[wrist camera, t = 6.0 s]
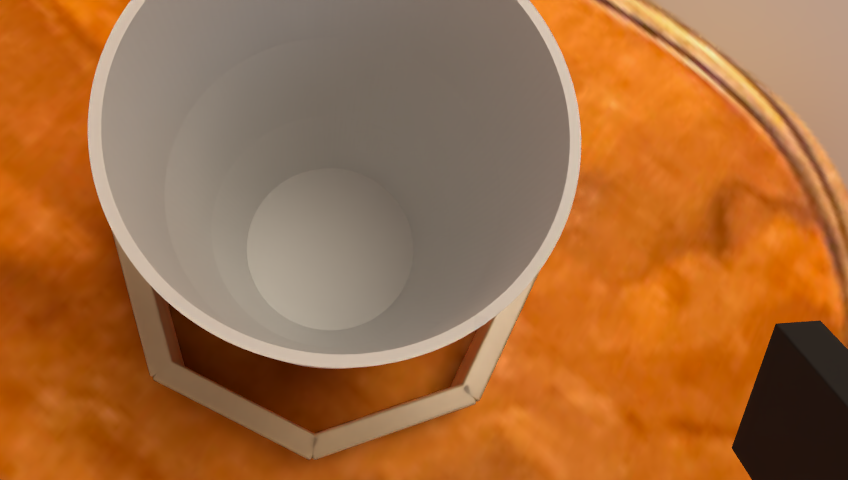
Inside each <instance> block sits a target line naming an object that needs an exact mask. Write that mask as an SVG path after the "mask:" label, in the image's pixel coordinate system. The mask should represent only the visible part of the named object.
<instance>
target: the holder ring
mask: <svg viewBox="0 0 848 480" xmlns="http://www.w3.org/2000/svg"><path fill="white" fill-rule="evenodd" d="M112 233H113V231H112ZM113 237H114V240H115V244H116V248H117V252H118V256H119V260H120V263H121V267H122V271H123V275H124V279H125V282H126V286H127V290H128V294H129V298H130V302H131V305H132V309H133V313H134V317H135V321H136V324H137V328H138V332H139V336H140V340H141V343H142V347H143V351H144V355H145V359H146V363H147V366H148V370H149V374H150V376H152V377H153V380H154V381H156V382H158V383H160V384H162V385H164V386H166V387H168V388H170V389H172V390H174V391H176V392H178V393H180V394H182V395H184V396H186V397H188V398H189V399H191V400H193V401H195V402H197V403H199V404H201V405H203V406H205V407H207V408H209V409H211V410H213V411H215V412H217V413H219V414H221V415H223V416H224V417H226V418H228V419H230V420H232V421H234V422H236V423H238V424H240V425H242V426H244V427H246V428H248V429H250V430H252V431H254V432H256V433H258V434H259V435H261V436H263V437H265V438H267V439H269V440H271V441H273V442H275V443H277V444H279V445H281V446H283V447H285V448H287V449H289V450H291V451H293V452H294V453H296V454H298V455H300V456H302V457H304V458H306V459H308V460H310V459H311V458H313V459H314V460H316V459H319V458H322V457H325V456H328V455H331V454H334V453H337V452H339V451H342V450H345V449H348V448H351V447H354V446H357V445H360V444H362V443H365V442H368V441H371V440H374V439H377V438H380V437H383V436H385V435H388V434H391V433H394V432H397V431H400V430H403V429H406V428H408V427H411V426H414V425H417V424H420V423H423V422H426V421H429V420H431V419H434V418H437V417H440V416H443V415H446V414H449V413H452V412H455V411H457V410H460V409H463V408H466V407H469V406H472V405H474V404H475V403H476V401H479V400H480V399H481V396H482V394H483V392H484V390H485V388H486V386H487V383H488V381H489V379H490V377H491V375H492V373H493V370H494V368H495V366H496V364H497V362H498V360H499V358H500V355H501V353H502V351H503V349H504V347H505V345H506V342H507V340H508V338H509V336H510V334H511V332H512V329H513V327H514V325H515V323H516V321H517V319H518V317H519V314H520V312H521V310H522V308H523V306H524V304H525V301H526V299H527V297H528V295H529V293H530V291H531V288H532V286H533V284H534V282H535V280H536V278H537V276H538V273H539V272H538V273H537V275H536V276H535V277H534V278H533V280H532V281H531V282H530V283H529V285H528V286H527V287H526V288H525V289H524V290H523V291H522V292H521V293H520V294H519V295H518V296H517V297H516V298H515V300H514V301H512V302H511V303H510V304H509V305H508V306H507V307H506V308H505V309H504V310H502V311H501V312H500V313H499V314H497V315H496V316H495V317H494V318H492V319H491V320H490V321H488V322H487V323H485V324H484V325H482V326H481V327H479V328H478V329H477V331H476V333H475V335H474V338H473V340H472V342H471V344H470V346H469V348H468V350H467V352H466V354H465V356H464V359H463V361H462V363H461V365H460V367H459V369H458V371H457V373H456V375H455V377H454V379H453V382H452V384H451V386H450V387H449V388H446V389H443V390H440V391H437V392H434V393H431V394H428V395H425V396H422V397H419V398H416V399H413V400H411V401H408V402H405V403H402V404H399V405H396V406H393V407H390V408H387V409H384V410H381V411H378V412H375V413H372V414H369V415H366V416H364V417H361V418H358V419H355V420H352V421H349V422H346V423H343V424H340V425H337V426H334V427H331V428H328V429H325V430H322V431H319V432H317V433H313V432H311V431H309V430H307V429H305V428H303V427H301V426H299V425H297V424H295V423H294V422H292V421H290V420H288V419H286V418H284V417H282V416H280V415H278V414H276V413H274V412H272V411H270V410H268V409H266V408H264V407H262V406H260V405H259V404H257V403H255V402H253V401H251V400H249V399H247V398H245V397H243V396H241V395H239V394H237V393H235V392H233V391H231V390H229V389H227V388H226V387H224V386H222V385H220V384H218V383H216V382H214V381H212V380H210V379H208V378H206V377H204V376H202V375H200V374H198V373H196V372H194V371H192V370H191V369H189V368H187V367H185V365H184V361H183V358H182V354H181V350H180V347H179V343H178V339H177V336H176V332H175V328H174V325H173V321H172V317H171V313H170V310H169V306H168V302H167V301H166V300H165V299H164V298H163V297H162V296H161V295H160V294H158V293H157V292H156V291H155V290H154V288H153V287H152V286H151V285H150V284H149V283H148V282H147V281H146V280H145V279H144V277H143V276H142V275H141V274H140V273H139V271H138V270H137V269H136V267H135V266H134V265H133V263H132V262H131V261H130V259H129V258H128V256H127V255H126V253H125V252H124V250H123V249H122V247H121V245H120V244H119V242H118V240H117V239H116V237H115V235H114V233H113Z"/></svg>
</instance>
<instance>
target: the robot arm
mask: <svg viewBox="0 0 848 480" xmlns="http://www.w3.org/2000/svg"><path fill="white" fill-rule="evenodd" d="M732 449H733V451H734V452H735V454H736V455H737V457H738V459H739V460H740V462H741V463H742V465H743V466H744V468H745V469H746V471H747V472H748V474H749V476H750V477H751V479H752V480H848V349H847V348H846V347H845V346H844V345H843V344H842V343H841V342H840V341H839V340H838V339H837V338H836V337H835V336H834V335H833V334H832V333H831V331H830V330H829V329H828V328H827V327H826V326H825V325H824V324H823V323H822V322H821V321H809V322H794V323H780V324H776V325H775V328H774V330H773V333H772V336H771V339H770V342H769V344H768V347H767V350H766V353H765V356H764V359H763V361H762V364H761V367H760V370H759V373H758V375H757V378H756V381H755V384H754V387H753V389H752V392H751V395H750V398H749V401H748V404H747V406H746V409H745V412H744V415H743V418H742V420H741V423H740V426H739V429H738V432H737V435H736V437H735V440H734V443H733V446H732Z"/></svg>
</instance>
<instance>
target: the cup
mask: <svg viewBox="0 0 848 480" xmlns="http://www.w3.org/2000/svg"><path fill="white" fill-rule="evenodd" d="M88 147H89V156H90V163H91V169H92V174H93V179H94V183H95V187H96V190H97V194H98V197H99V200H100V203H101V206H102V208H103V211H104V213H105V216H106V218H107V221H108V223H109V225H110V227H111V229H112V231H113V233H114V235H115V237H116V239H117V240H118V242H119V244H120V245H121V247H122V249H123V250H124V252H125V253H126V255H127V256H128V258H129V259H130V261H131V262H132V263H133V265H134V266H135V267H136V269H137V270H138V271H139V273H140V274H141V275H142V276H143V277H144V279H145V280H146V281H147V282H148V283H149V284H150V285H151V286H152V287H153V288H154V290H155V291H156V292H157V293H158V294H160V295H161V296H162V297H163V298H164V299H165V300H166V301H167V302H168V303H169V304H170V305H172V306H173V307H174V308H175V309H176V310H178V311H179V312H180V313H181V314H183V315H184V316H185V317H187V318H188V319H190V320H191V321H192V322H194V323H195V324H197V325H198V326H200V327H202V328H203V329H205V330H206V331H208V332H210V333H212V334H213V335H215V336H217V337H219V338H221V339H223V340H225V341H227V342H229V343H231V344H233V345H236V346H238V347H240V348H243V349H245V350H248V351H251V352H253V353H256V354H259V355H262V356H265V357H269V358H272V359H276V360H280V361H283V362H287V363H291V364H295V365H300V366H306V367H314V368H326V369H343V368H356V367H368V366H376V365H383V364H389V363H394V362H399V361H403V360H407V359H411V358H414V357H417V356H421V355H424V354H427V353H429V352H432V351H435V350H437V349H440V348H442V347H444V346H447V345H449V344H451V343H453V342H455V341H457V340H459V339H461V338H463V337H465V336H466V335H468V334H470V333H471V332H473V331H475V330H476V329H478V328H479V327H481V326H482V325H484V324H485V323H487V322H488V321H490V320H491V319H492V318H494V317H495V316H496V315H497V314H499V313H500V312H501V311H502V310H504V309H505V308H506V307H507V306H508V305H509V304H510V303H511V302H512V301H514V300H515V298H516V297H517V296H518V295H519V294H520V293H521V292H522V291H523V290H524V289H525V288H526V287H527V286H528V285H529V283H530V282H531V281H532V280H533V278H534V277H535V276H536V275H537V273H538V272H539V271H540V269H541V268H542V266H543V265H544V263H545V262H546V260H547V259H548V257H549V256H550V254H551V252H552V250H553V249H554V247H555V245H556V243H557V241H558V239H559V237H560V235H561V233H562V231H563V228H564V226H565V224H566V221H567V218H568V216H569V213H570V210H571V207H572V204H573V200H574V196H575V192H576V187H577V182H578V176H579V169H580V159H581V128H580V117H579V110H578V104H577V99H576V95H575V90H574V86H573V83H572V80H571V76H570V73H569V70H568V67H567V65H566V62H565V60H564V57H563V55H562V53H561V50H560V48H559V46H558V44H557V42H556V40H555V38H554V36H553V35H552V33H551V31H550V29H549V28H548V26H547V24H546V23H545V21H544V20H543V18H542V17H541V15H540V14H539V12H538V11H537V10H536V8H535V7H534V6H533V4H532V3H531V2H530V0H131V1H130V2H129V3H128V5H127V6H126V8H125V9H124V11H123V12H122V14H121V16H120V17H119V19H118V21H117V22H116V24H115V26H114V28H113V30H112V31H111V33H110V35H109V38H108V40H107V42H106V44H105V47H104V49H103V52H102V54H101V57H100V60H99V63H98V66H97V69H96V73H95V76H94V81H93V85H92V90H91V96H90V103H89V112H88Z"/></svg>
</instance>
